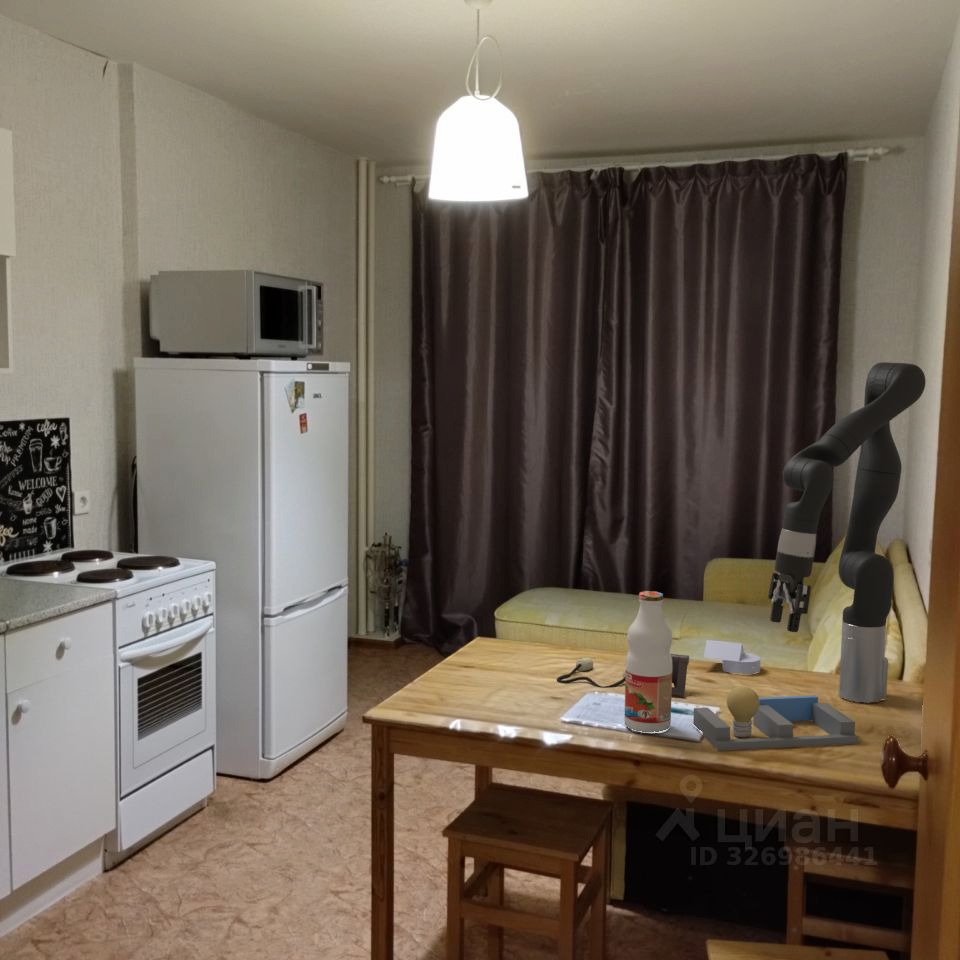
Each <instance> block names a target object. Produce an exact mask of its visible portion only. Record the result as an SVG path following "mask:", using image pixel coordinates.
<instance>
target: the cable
mask: <svg viewBox="0 0 960 960" xmlns="http://www.w3.org/2000/svg"><path fill="white" fill-rule="evenodd" d="M593 668H594V661H593V659H592V658H591V657H583V658H578V659H577V661H576V663H575V667H574V668H573V670H572V671H570V672H569V673H567V674H563V675H560V676H559V677H557V678H556V682H558V683H561V684H570V683H573V682H576V681H578V682H579V681H587V682H589V683H590V684H591V685H593V686H594V687H596V688H602V689H603V688H604V689H606V688H607V689H610V688H615V687H618V686H619V685H622V684H623V683H624V682H625V680H626V669H625V670H623V672H622V679H621V680H619V681H617V682H616V683H613V684H609V685H603V686H601V685H600V684H598V683H596V682H595V681H594V680H593V679H591V678H589V677H588V676H578V677H574V678H570V677H571V676H572V675H574V674H575V673H576V672H577V671H579V672H585V671H589V670H592V669H593ZM566 678H570V679H566ZM563 679H564V680H563Z"/></svg>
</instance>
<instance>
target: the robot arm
mask: <svg viewBox="0 0 960 960" xmlns="http://www.w3.org/2000/svg"><path fill="white" fill-rule="evenodd" d="M925 375H926V374H925V372H924V371H923V370H922V368H921V367H920V366H918V365H916V364H914V363H908V362H907V363H906V362H885V361H882V362H877V363H876V364H874V365H873V366H872V367H871V368H870V370H869V372H868V374H867V377H866V381H865V386H864V387H865V388H864V402H863V406H862V407H861V408H859V409H857V410H855V411H853V412H851V413H849V414H847V415H845V416H844V417H842V418H841V419H839V420H838V421H837V422H835V423H834V425H832V426H831V427H830V428H829V429H828V430H827V432H825V433H824V434H823V435H822V437H820V438H819V440H818V441H816V442H814V443H812V444H810V445H809V446H807V447H805V448H804V449H802V450H800V451H799V452H797V453H796V454H795V455H793V456H792V457H791V458H789V460H788V461H787V463H786V464H785V465H784V468H783V471H782V479H783V482H784V484H785V486H787V487H788V488H789V489H792V490H794V491H795V490H796V491H800V492H803V494H802V496H801V498H800V499H799V500H798V501H792V502H789V503H787V504H786V506H785V509H784V516H783V521H782V528H781V532H780V535H779V539H778V544H777V550H776V556H775V564H774V571H775V572H772V575H771V579H770V584H769V590H768V595H767V598H768V600H770V602H771V604H772V605H771V606H772V607H771V613H770V617H769V618H770V619H769V620H770V622H772V623H778V624H780V623H781V622H782V617H783V610H784V604H785V603H786V604H787V605H788V607H789V608H788V609H789V613H788V614H789V615H788V620H787V621H788V622H787V628H786V630H787V631H789V633H797V632H799V628H800V623H801V616H803V615H807V614H808V612H809V604H810V596H811V590H812V588H811V587H812V586H811V585H809V584H808V585H807V584H804V579H805V578H809V577H811V575H812V570H813V569H812V568H813V564H814V559H815V551H816V546H817V545H816V544H817V532H818V526H819V519H820V514H821V512H822V510H823V508H824V507H825V504H826V502H827V500H828V497H829V495H830V493H831V491H832V488H833V484H834V479H835V477H834V475H835V474H834V470H833V468H835V467H839V466H842V465H843V464H844V463H845V462H846V461H847V460H848V459H849V458H850V457H851V456H852V455H853V454H854V453H855V452H856V451H857V450H858V449H859V450H860V451H859V455H858V456H859V457H858V461H857V467H856V474H855V480H854V486H853V487H854V488H853V497H852V503H851V508H850V515H849V520H848V527H847V531H846V535H845V537H844V542H843V545H842V548H841V549H842V550H841V554H840V557H839V562H838V577H839V579H840V581H841V582H842V584H843V585H844V586H846V587H847V588H849V589H851V590H854V591H853V598H852V600H853V601H852V603H851V605H849V606H846V607H844V608H843V611H842V623H841V624H842V625H841V638H840V639H841V641H840V642H841V645H840V662H839V681H838V682H839V684H838V696H839V697H842V699H843V698H844V700H846V699H847V700H846V701H850V702H853V701H855V702H854V703H859V702H864V703H863V704H871V703H870V702H877V701H880V700H881V699H886V700H887V689H888V671H889V659H888V658H887V657H885V653H886V651H885V650H886V636H887V635H886V634H887V619H888V616H889V614H890V612H891V609H892V601H893V593H894V582H895V581H894V580H895V579H894V576H895V575H894V574H895V572H894V568H893V565H892V563H891V561H890V560H889V559H888V558H887V557H885V556H884V555H881V554H879V553H876V545H877V540H878V534H879V530H880V527H881V524H882V523H883V521H884V519H885V518H886V516H887V515H888V513H889V512H890V511H891V509H892V508H893V506H894V504H895V502H896V499H897V497H898V493H899V489H900V484H901V482H900V481H901V477H902V476H901V474H902V460H901V458H900V453H899V451H898V449H897V446H896V443H895V441H894V438H893V435H892V431H891V423H890V422H891V421H892V420H893V419H894V418H896V417H897V416H899V415H900V414H902V413H903V412H904V411H906V410H907V409H908V408H909V407H911V406H912V405H914V404H915V403H916V402H917V401H918V400H919V399H920V398H921V397H922V395H923V393H924V391H925V388H926V376H925ZM865 702H866V703H865ZM880 702H881V701H880ZM877 703H878V702H877Z"/></svg>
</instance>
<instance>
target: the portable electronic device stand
mask: <svg viewBox="0 0 960 960" xmlns="http://www.w3.org/2000/svg"><path fill="white" fill-rule="evenodd" d="M670 655H671V657H672V685H673V686H672V696H671V697H677V698H684V697H685V694H686V683H687V682H686V681H687V674H688V673H687V672H688V671H687V670H688V666H689V664H690V656H689V655H687V654H675V653H670Z"/></svg>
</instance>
